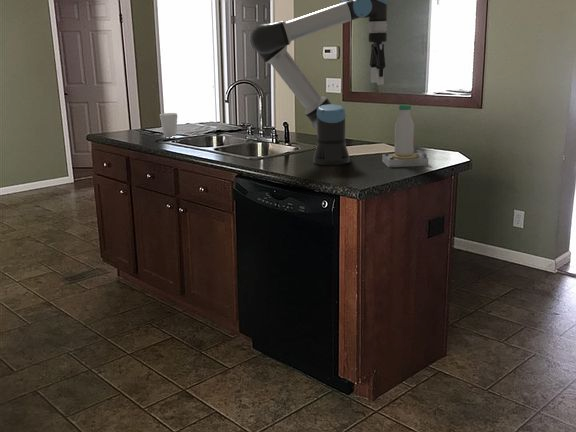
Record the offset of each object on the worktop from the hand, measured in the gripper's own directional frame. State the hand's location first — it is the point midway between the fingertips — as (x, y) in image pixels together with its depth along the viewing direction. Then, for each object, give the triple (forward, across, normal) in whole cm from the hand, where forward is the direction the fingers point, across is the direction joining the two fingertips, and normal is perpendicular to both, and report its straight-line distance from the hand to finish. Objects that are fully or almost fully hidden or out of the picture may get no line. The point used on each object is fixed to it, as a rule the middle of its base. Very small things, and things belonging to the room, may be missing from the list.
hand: (377, 83), depth 261 cm
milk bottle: (+27, -23, -7) cm, 36 cm away
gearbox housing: (+31, -23, -7) cm, 39 cm away
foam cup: (+31, +74, +100) cm, 128 cm away
